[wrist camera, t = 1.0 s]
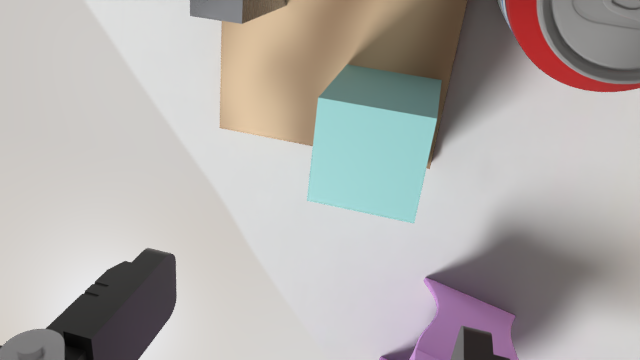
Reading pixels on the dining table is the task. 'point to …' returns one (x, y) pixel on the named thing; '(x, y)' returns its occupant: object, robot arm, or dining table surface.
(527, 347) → the dining table surface
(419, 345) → the toy chair
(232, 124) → the board
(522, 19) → the beverage can
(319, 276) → the dining table surface
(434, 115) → the aqua foam cube
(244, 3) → the post
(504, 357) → the robot arm
